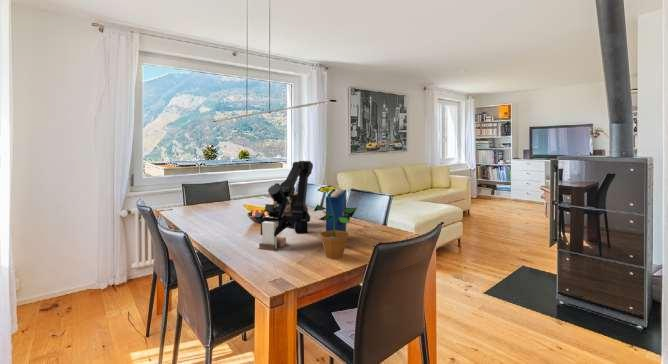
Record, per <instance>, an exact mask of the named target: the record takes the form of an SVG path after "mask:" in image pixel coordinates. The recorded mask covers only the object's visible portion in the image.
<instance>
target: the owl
mask: <svg viewBox="0 0 668 364" xmlns="http://www.w3.org/2000/svg"><path fill="white" fill-rule="evenodd" d="M297 193H298V191H296V192H294V195H293V196H292V197H287V199H288V201H289V205H287V206H286V208H285V214H283V215H289V216H291V217H292V207H293V205H295V204H296V202H297ZM282 217H283V216H282ZM294 224H295V221H294ZM287 229H291V230H294V226H293V227H288V228H287Z"/></svg>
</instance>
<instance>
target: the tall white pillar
mask: <svg viewBox="0 0 668 364" xmlns="http://www.w3.org/2000/svg"><path fill="white" fill-rule="evenodd" d="M277 223H278V222H273V221H265V222H262V235H261V236H262V239H261V240H262V241H261V243H264V244H272V245H275V249H276V248H277V237H278V235H277V236H276V237H275V236H274V234H275V231H276V228H277V226H278V224H277Z"/></svg>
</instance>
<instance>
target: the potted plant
mask: <svg viewBox="0 0 668 364" xmlns="http://www.w3.org/2000/svg"><path fill="white" fill-rule="evenodd" d="M337 188H338V187H337V186H335V185H327V186H320V187H319V188H318V189H317V190H316V191H317V192H321V193H326V194H327V196H328V199H329V195H328V194H329V193H330V192H331V191H333V190H337ZM329 202H330V199H329ZM330 206H331V203H330ZM357 208H358V207H346V209H344V210H342V211H343V212H345V213H346V216H342V217H340V216H339V217H338V219H337V220H338V225H342V224H346V225H347V224H349V223H350V220H351V218H352V217H353V215H354V214H355V212H356V210H357ZM331 209H332V206H331ZM317 211H318V212H319V211H323V212H324V214H325V215H324V216H322V217H320V218H318V220H319V221H324V222H326V220H327V219H329V218H330V217H332V216H333V220H334V230H331V231H326V230H324V231H323V232H320V233H319V235H320V238H321V242H322V246H323V249H324V254H325V257H326V258H327V259H330V260H339V259H343V255H344V253H345V249H346V245H347V242H348V238H349V234H350V233H349V232H347V231H346V232H345V231H338V230H335V223H336V221H337V220H336V221H335V219H334V213H333V209H332V213H333V215H330V214H327V213H326V207H323V206H321V205H320V204H316V206H315V208H314V210H313V212H317ZM341 213H342V212H341ZM340 215H341V214H340Z"/></svg>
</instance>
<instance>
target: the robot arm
mask: <svg viewBox="0 0 668 364" xmlns="http://www.w3.org/2000/svg"><path fill="white" fill-rule="evenodd" d="M313 168H314V164H313V162H312V161H311V160H299V161H293V163H292V167H291V168H290V171H289V173H288V175H287V177H286V179H285V180H284V181H282V182H281V184H280V183H274V185H273V184H272V185H271V186H270V187H269V188H268V190H267V192H268V195H269V196H270V197H271V199H272V201H274V204H269V203H266V204H264V205H265V207H264V212H266V214H267V216H266V215H265V213H263V212H261V213H260V212H256V213H255V215H254V217H253V218H254V219H255V220H256V222H257V224H260V236H262V222H265V221H267V222H277V223H278V224H277V228H276V231H275V234H274V236H275V237H276V236H277V237H278V235H279V234H281V233H282V232H283V231H284V230H286V229H289V228H288V227H293V226H294V229H293V230H294V232H295V234H308V233H309V230H308V226H309V225H308V223H309V222H311V215H310V213H309V210H308V209H309V208H308V206H307V204H306V201H307V191H308V182H309V181H308V180H309V178H310V175H311V174H312V170H313ZM297 180H298V185H297V192H298V193H297V202H296V204H295V205H293V207H292V217H291V216H289V215H283V214H285V208H286V206H287V205H289V201H288V197H292V196H293V195H294V193H295V191H296V189H295V188H296V187H295V184H296V183H297ZM282 216H283V217H282ZM294 221H295V224H294Z"/></svg>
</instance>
